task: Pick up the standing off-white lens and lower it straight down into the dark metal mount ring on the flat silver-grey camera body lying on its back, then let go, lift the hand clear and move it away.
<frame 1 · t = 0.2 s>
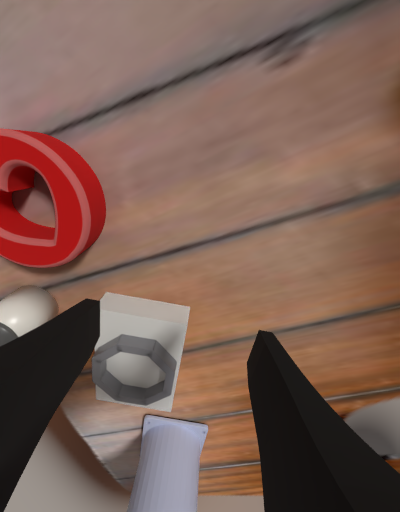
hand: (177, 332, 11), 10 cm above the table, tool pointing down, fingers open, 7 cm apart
lens: (36, 304, 23), on the table
decorative ornament: (49, 199, 19), on the table
camera body: (143, 346, 25), on the table
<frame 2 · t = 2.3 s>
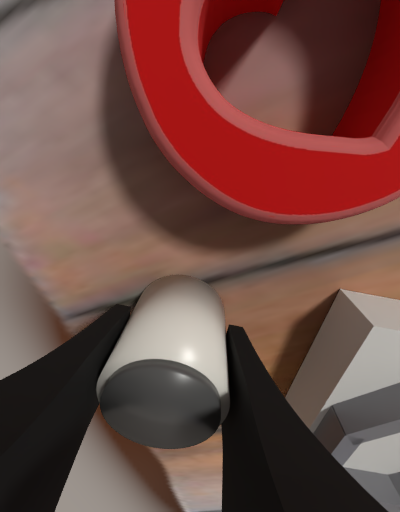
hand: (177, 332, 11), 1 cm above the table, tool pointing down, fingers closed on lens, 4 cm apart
lens: (181, 312, 12), on the table, touching gripper
decorative ornament: (289, 62, 8), on the table
camera body: (363, 389, 13), on the table
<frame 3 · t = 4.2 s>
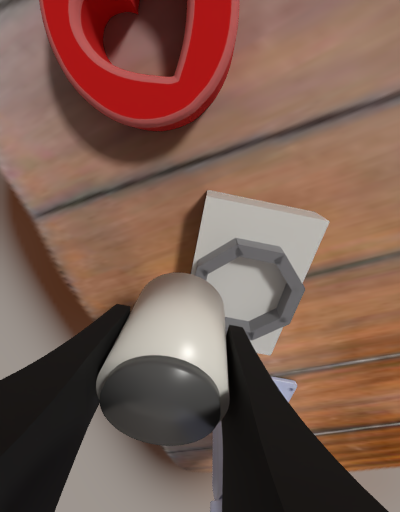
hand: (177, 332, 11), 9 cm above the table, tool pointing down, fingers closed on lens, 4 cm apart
lens: (180, 310, 12), point 8 cm above the table, touching gripper
decorative ornament: (153, 41, 14), on the table
camera body: (239, 271, 20), on the table
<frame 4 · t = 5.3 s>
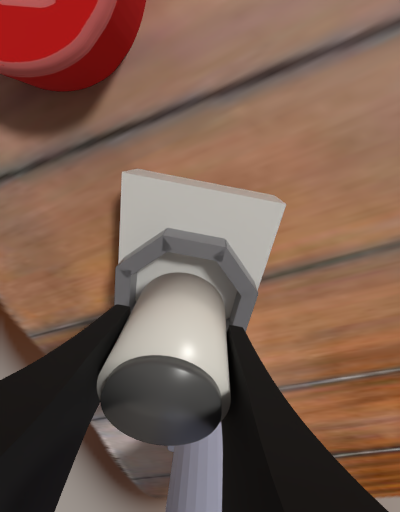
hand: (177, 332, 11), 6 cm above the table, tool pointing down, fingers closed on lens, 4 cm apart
lens: (181, 310, 12), point 4 cm above the table, touching gripper
camera body: (189, 272, 16), on the table
when the fingers open (5 cm above the table, at t = 6.0 s): lens stays where it is, resting on camera body.
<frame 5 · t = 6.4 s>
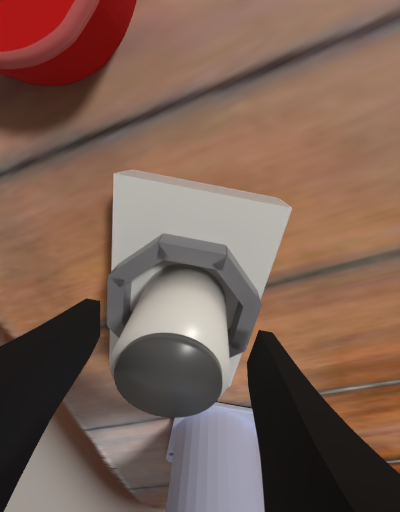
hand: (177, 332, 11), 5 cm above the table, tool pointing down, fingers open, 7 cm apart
lens: (184, 300, 13), point 3 cm above the table, touching camera body
camera body: (188, 278, 15), on the table
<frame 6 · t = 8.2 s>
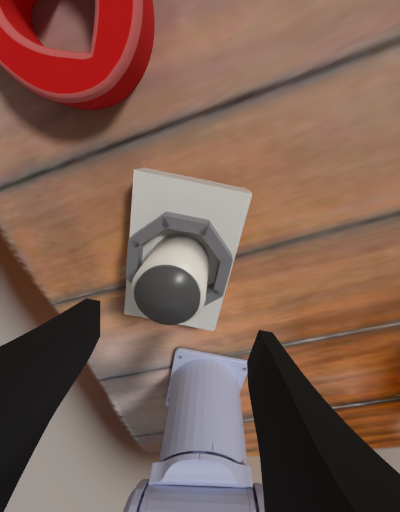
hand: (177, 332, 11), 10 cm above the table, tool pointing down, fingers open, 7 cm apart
lens: (180, 261, 18), point 3 cm above the table, touching camera body
decorative ornament: (80, 22, 15), on the table
camera body: (183, 249, 20), on the table
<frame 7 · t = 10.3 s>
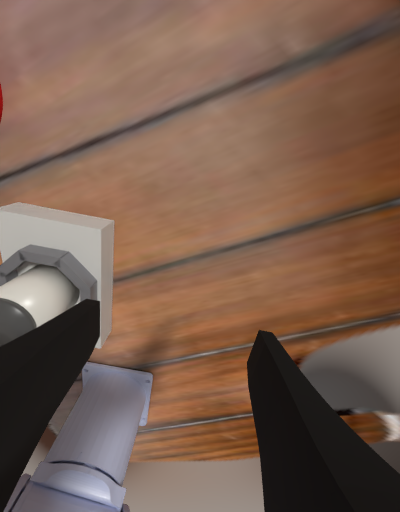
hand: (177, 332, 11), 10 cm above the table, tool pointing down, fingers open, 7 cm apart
lens: (53, 287, 19), point 3 cm above the table, touching camera body
camera body: (70, 273, 22), on the table
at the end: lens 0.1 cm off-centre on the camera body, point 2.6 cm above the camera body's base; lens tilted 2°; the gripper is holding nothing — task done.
